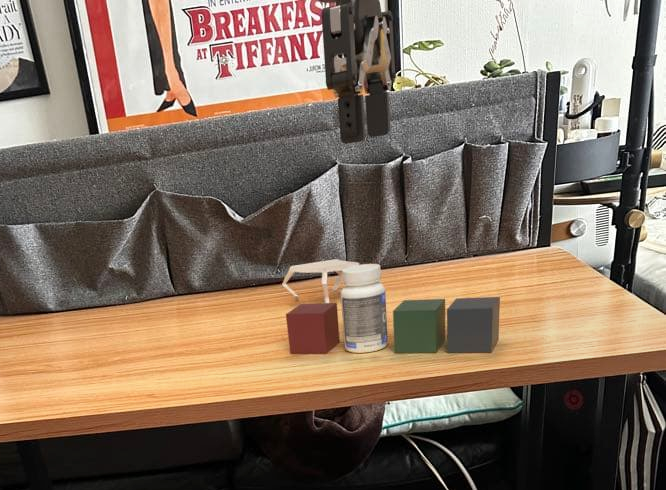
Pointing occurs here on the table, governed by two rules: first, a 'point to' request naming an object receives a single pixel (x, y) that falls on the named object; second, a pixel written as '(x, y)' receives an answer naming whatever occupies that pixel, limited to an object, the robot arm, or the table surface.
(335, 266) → the white legged frame
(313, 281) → the table surface
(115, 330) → the table surface
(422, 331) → the green block
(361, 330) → the pill bottle
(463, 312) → the slate block
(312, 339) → the maroon block
